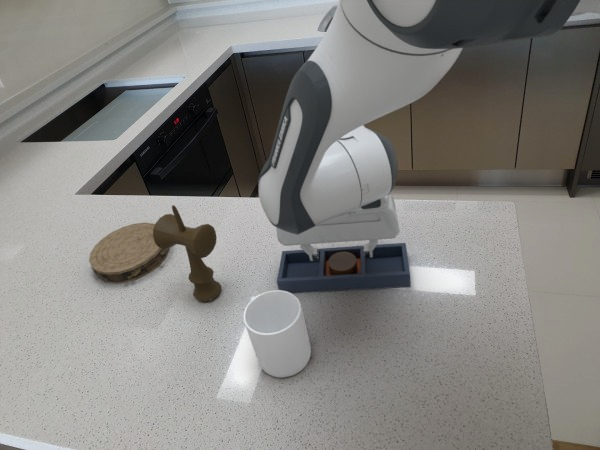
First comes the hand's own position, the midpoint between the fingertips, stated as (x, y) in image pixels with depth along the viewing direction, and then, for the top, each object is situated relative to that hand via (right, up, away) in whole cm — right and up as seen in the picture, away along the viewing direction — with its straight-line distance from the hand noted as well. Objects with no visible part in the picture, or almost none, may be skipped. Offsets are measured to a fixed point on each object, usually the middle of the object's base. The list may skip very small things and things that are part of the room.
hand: (341, 257), depth 81 cm
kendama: (-24, -7, +4) cm, 26 cm away
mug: (-11, -14, -8) cm, 19 cm away
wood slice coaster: (-43, -1, +17) cm, 46 cm away
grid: (+1, -3, +2) cm, 4 cm away
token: (+1, -3, +2) cm, 3 cm away
